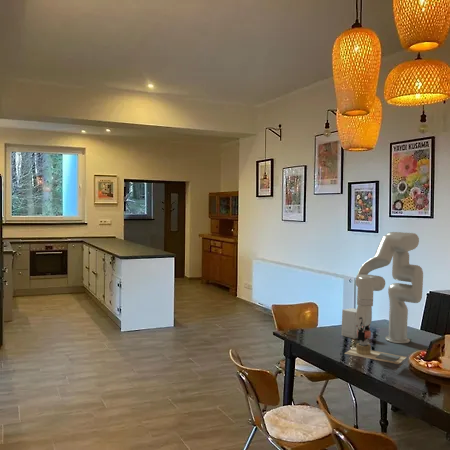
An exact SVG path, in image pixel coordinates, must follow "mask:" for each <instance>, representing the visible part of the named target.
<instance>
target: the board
mask: <svg viewBox="0 0 450 450" xmlns="http://www.w3.org/2000/svg"><path fill="white" fill-rule="evenodd" d="M344 354H345V355H350V356H355V357H361V358H365V359H370V360H373V361H374V360H376V361H380V362H384V363H385V362H386V363H391V364H395V365H399V366H398V368H400V367H401V366H402V365H403V364H404V362H403V361H405V359H406V360H407V357H408V356H404V355H397V354H393V353H388V352H382V351H377V350H372V346H371V344H370V343H367V346H361V345H360V342H358V343H356V346H354V347H353V348H351V349H349V350H348V351H346V352H344Z"/></svg>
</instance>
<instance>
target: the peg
mask: <svg viewBox="0 0 450 450" xmlns="http://www.w3.org/2000/svg"><path fill="white" fill-rule="evenodd" d="M364 332H365V340H364V341H362V340H359V343H360V345H361V346H367V344H369V343H368V339H371V337H372V331H371V329H369V330H367V329H365V330H364ZM357 337H358V330H357Z"/></svg>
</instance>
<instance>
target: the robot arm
mask: <svg viewBox="0 0 450 450" xmlns="http://www.w3.org/2000/svg"><path fill="white" fill-rule="evenodd" d="M419 243H420V238H419V236H418V234H416V233H414V232H402V231H392V232H388V233H386V235H383V236H382V237H381V238H380V241H379V243H378V246H377V248H376V251H375V254H374V255H373V257H371V258H369V259H368V260H367V261H365V262H364V263H363V264H362V265H361V266H360V268H359V270H358V272H357V274H356V277H355V285H356V287H357V289H356V290H357V295H356V305H357V307H356V309H357V313H356V325H357V327H358V338H357V340H358V341H360V340H362V341H364V340H365V332H364V330H365V329H367V330H371V324H372V321H373V319H372V318H373V315H372V314H373V312H372V311H373V309H372V307H373V306H374V292H380V291H382V290H384V288H385V287H386V280H385V278H384V277H383V276H381V275H373V274H370V273H371V272H372V271H374V270H375V271H376V270H378V269H381V268H384V267H386V266H389V265H390V264H391V262H392V269H391V270H392V271H391V273H392V274H391V275H392V279H394V280H395V281H398V282H394V283H391V284H390V285H389V286H388V291H387V292H388V301H389V312H388V314H389V315H388V320H389V321H388V335H386V336H385V341H387V342H389V343H395V344H409V343H410V341H411V339H410V338H408V317H409V316H408V315H409V313H408V312H409V310H408V309H409V308H408V307H407V304H406V303H412V304H418V303H420V302H421V301H422V297H423V285H424V271H423V268H422V266H420V265H418V264H410V253H409V252H411V251H413V250H415V249H416V248H418V245H419ZM400 282H401V283H400ZM403 282H406V283H403ZM407 282H408V283H409V284H407ZM410 283H411V284H410ZM361 324H362V325H363V326H362V325H361ZM362 327H363V329H362Z"/></svg>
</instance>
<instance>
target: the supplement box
mask: <svg viewBox="0 0 450 450" xmlns="http://www.w3.org/2000/svg"><path fill="white" fill-rule="evenodd" d="M356 313H357V308H354V307H350V308H344V309H342V315H341V336H343V337H346V338H350V339H358V337H357V330H358V327H357V325H356ZM361 325H362V324H361ZM362 326H363V325H362ZM362 329H363V327H362Z"/></svg>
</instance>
